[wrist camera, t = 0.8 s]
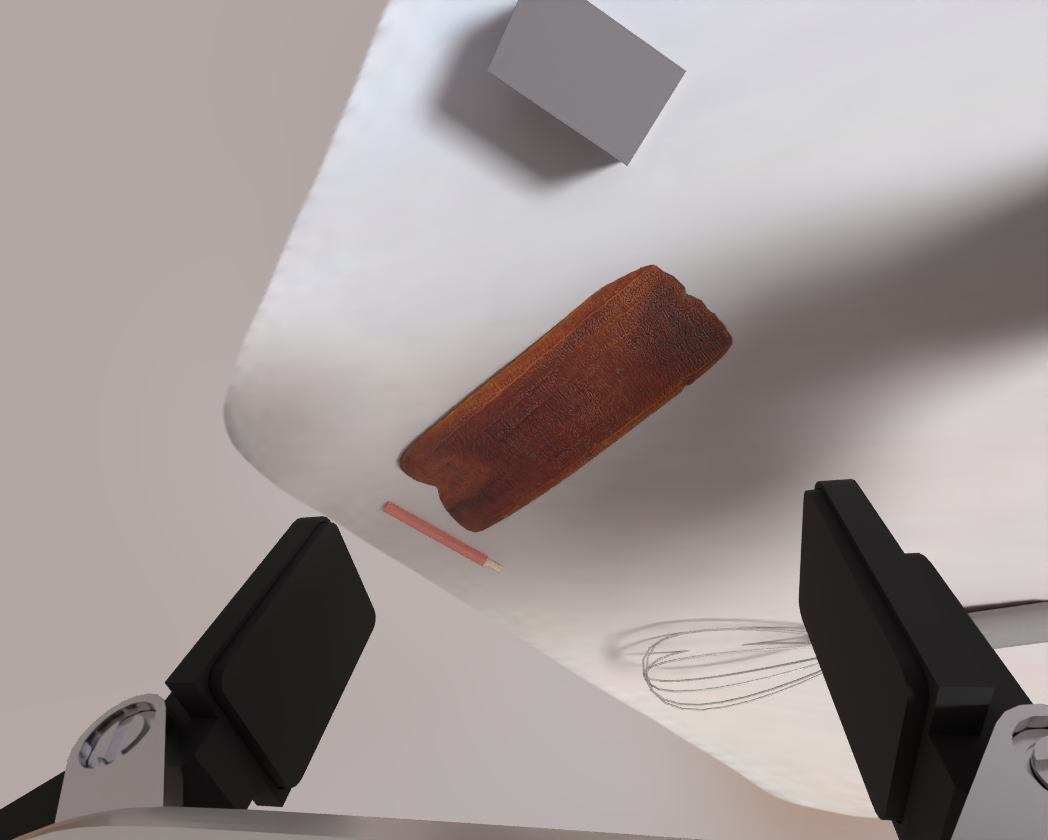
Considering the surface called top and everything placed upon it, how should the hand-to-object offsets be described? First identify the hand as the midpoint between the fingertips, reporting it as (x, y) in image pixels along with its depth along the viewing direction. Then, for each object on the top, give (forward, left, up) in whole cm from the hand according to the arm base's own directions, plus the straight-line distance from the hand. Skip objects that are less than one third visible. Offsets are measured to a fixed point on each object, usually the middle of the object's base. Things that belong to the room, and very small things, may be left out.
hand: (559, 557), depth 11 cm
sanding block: (-8, -6, -27) cm, 29 cm away
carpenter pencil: (+27, +1, -27) cm, 38 cm away
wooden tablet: (+12, +3, -28) cm, 30 cm away
